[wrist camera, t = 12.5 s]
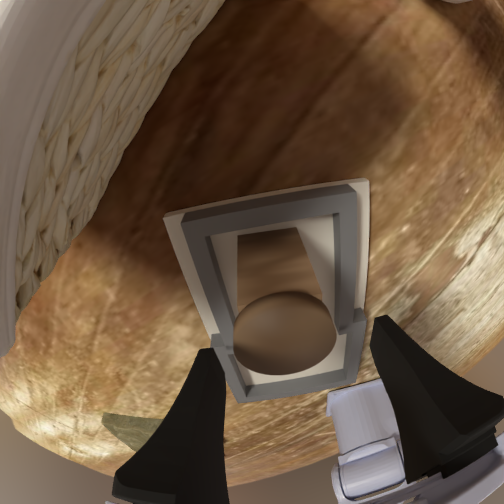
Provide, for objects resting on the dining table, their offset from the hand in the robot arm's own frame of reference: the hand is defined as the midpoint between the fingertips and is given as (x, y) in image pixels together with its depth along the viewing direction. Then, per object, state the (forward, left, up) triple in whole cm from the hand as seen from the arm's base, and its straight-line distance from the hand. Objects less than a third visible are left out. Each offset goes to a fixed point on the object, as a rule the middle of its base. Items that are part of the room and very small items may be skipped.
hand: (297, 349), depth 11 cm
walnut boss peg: (+1, +1, -9) cm, 9 cm away
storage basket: (+10, -17, -10) cm, 22 cm away
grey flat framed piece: (0, +7, -10) cm, 12 cm away
